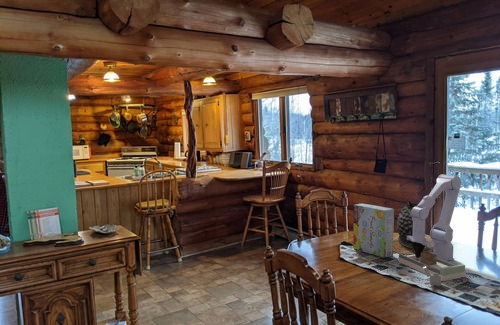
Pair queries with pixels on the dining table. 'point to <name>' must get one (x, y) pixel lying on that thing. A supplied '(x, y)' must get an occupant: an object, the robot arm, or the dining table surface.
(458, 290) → the dining table surface
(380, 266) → the dining table surface
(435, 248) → the robot arm
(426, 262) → the walnut block
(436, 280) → the lighter
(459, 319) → the dining table surface
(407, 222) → the pine cone
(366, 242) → the snack box
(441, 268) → the trap channel
